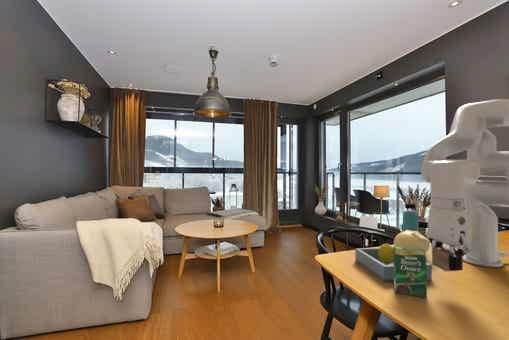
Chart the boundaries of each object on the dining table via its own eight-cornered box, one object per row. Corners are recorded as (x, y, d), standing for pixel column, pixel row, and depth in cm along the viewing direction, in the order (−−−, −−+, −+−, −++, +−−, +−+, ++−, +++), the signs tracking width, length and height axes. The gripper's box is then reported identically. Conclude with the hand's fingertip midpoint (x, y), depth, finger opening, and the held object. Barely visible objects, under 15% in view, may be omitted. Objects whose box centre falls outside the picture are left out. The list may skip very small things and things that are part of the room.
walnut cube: (447, 263, 77) (447, 246, 77) (462, 270, 72) (462, 252, 72) (432, 264, 76) (432, 247, 76) (446, 271, 72) (446, 253, 71)
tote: (394, 259, 101) (395, 247, 101) (431, 280, 83) (431, 264, 83) (355, 261, 99) (355, 248, 99) (384, 282, 81) (384, 266, 81)
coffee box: (394, 293, 74) (394, 248, 74) (392, 289, 77) (393, 245, 76) (427, 298, 71) (427, 251, 71) (424, 294, 74) (424, 248, 74)
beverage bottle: (413, 250, 113) (413, 204, 113) (398, 245, 119) (399, 203, 119) (422, 247, 116) (422, 204, 116) (407, 244, 122) (407, 202, 122)
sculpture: (434, 262, 99) (435, 234, 99) (403, 261, 99) (403, 233, 99) (417, 252, 110) (417, 227, 110) (388, 251, 111) (389, 227, 111)
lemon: (380, 267, 91) (380, 244, 91) (376, 261, 97) (376, 240, 97) (397, 268, 90) (397, 245, 90) (392, 262, 96) (392, 241, 96)
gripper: (488, 208, 66) (488, 278, 66) (434, 198, 82) (435, 254, 83) (461, 209, 65) (461, 280, 65) (413, 200, 82) (413, 256, 82)
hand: (446, 265), depth 74 cm, fingers closed on walnut cube, 5 cm apart
